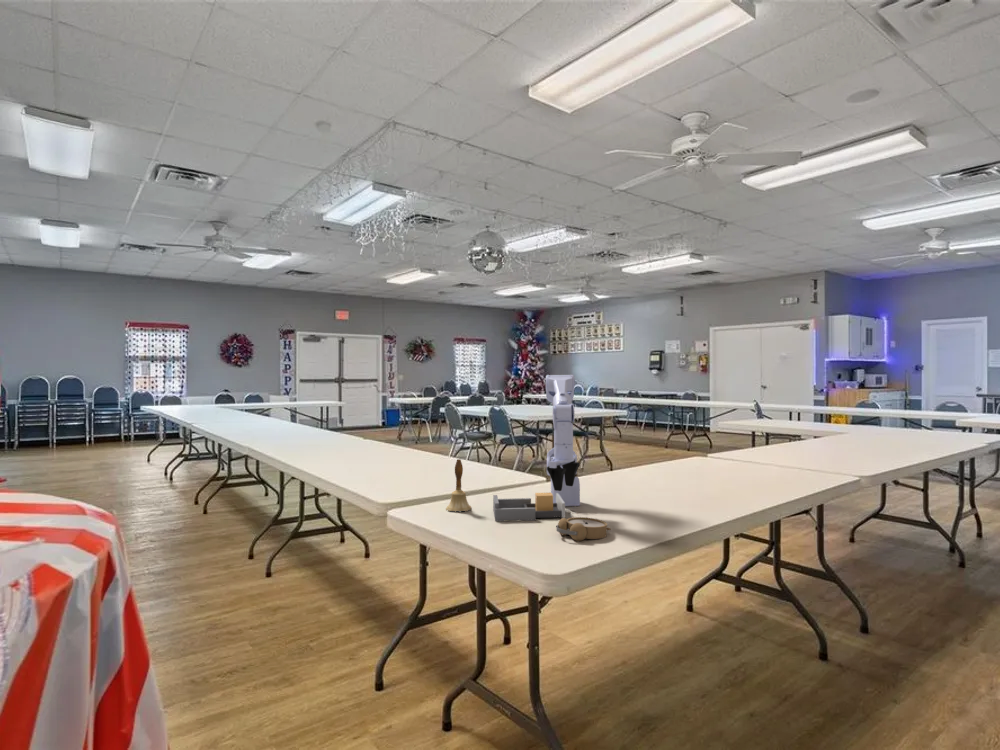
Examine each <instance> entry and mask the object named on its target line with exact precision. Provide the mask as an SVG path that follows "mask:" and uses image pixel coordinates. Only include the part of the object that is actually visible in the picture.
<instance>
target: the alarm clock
mask: <svg viewBox="0 0 1000 750" xmlns="http://www.w3.org/2000/svg"><path fill="white" fill-rule="evenodd" d="M555 528H556V532H558V533H559V534H560V535H561V536H565V537H566V535H569V536H570V537H571V539H572V540H574V541H576V542H582V541H584V540H585V539H588V540H598V539H599V540H600V539H605V538H606V537H607V531H611V527H608V523H607V522H606V521H604V520H601V519H597V518H592V517H581V516H578V517H576V516H575V517H574V516H573V517H569V518H566V517H565V518H562V517H561V519H559V521H558V523H557V525H555Z"/></svg>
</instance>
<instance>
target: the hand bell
mask: <svg viewBox="0 0 1000 750" xmlns="http://www.w3.org/2000/svg"><path fill="white" fill-rule="evenodd" d="M454 465H455V466H454V475H455V478H456V479H455V483H456V485H455V490H454V491H452V492H451V498H450V500H449V501H450V502H449V503H448V505H447V506H446V508H445V510H446V511H447V510H448V511H447V512H450V511H455V512H454V513H457V512H456V511H465V512H469V511H471V510H473V508H472V506H471V504H469V502H468V500H467V493H466V492H465V491H464V490H462V477H463V471H464V468H463V463H462V459H460V458H459V459H456V462H455V464H454ZM468 510H469V511H468Z"/></svg>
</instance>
